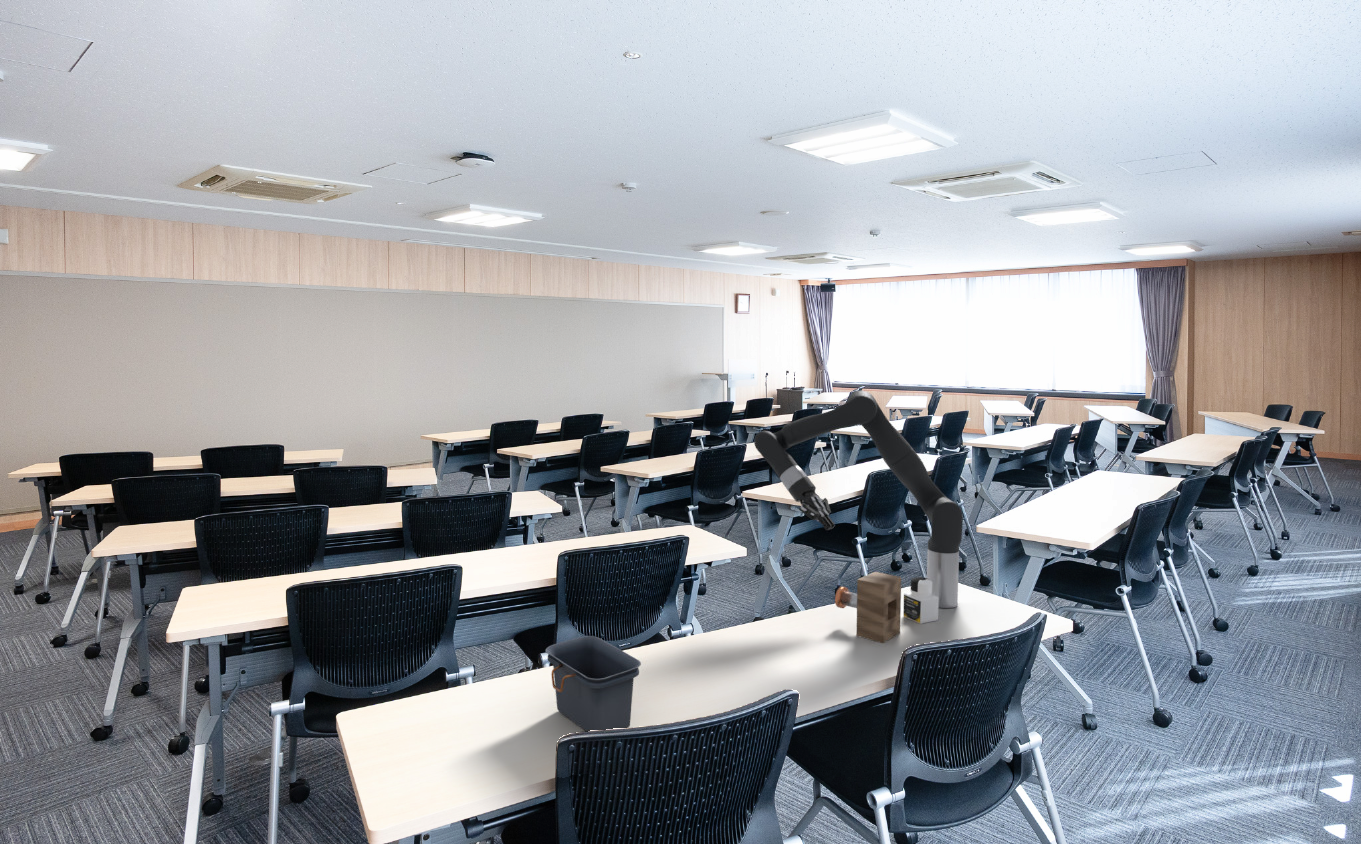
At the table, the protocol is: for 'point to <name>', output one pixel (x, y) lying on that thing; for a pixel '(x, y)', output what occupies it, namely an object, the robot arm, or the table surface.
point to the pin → (845, 598)
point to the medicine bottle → (921, 602)
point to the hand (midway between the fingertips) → (831, 528)
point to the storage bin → (593, 682)
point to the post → (878, 606)
